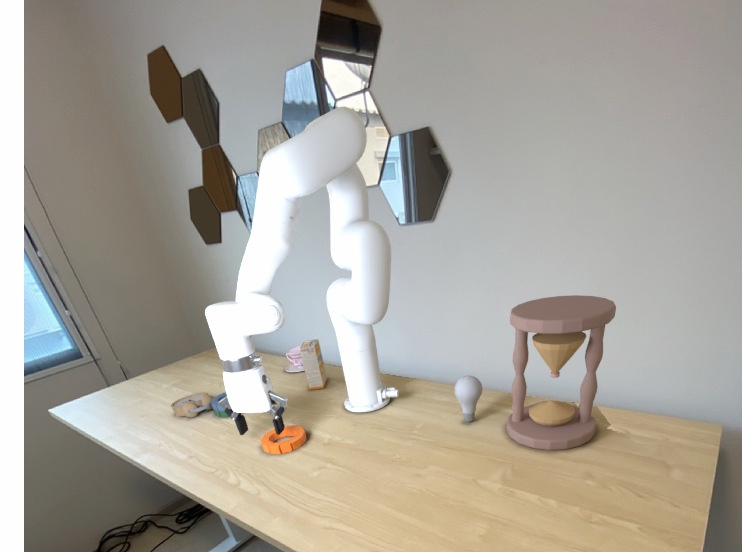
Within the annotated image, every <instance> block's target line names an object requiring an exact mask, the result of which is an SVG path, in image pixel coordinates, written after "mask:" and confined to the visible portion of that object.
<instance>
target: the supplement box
mask: <svg viewBox="0 0 742 552" xmlns="http://www.w3.org/2000/svg"><path fill="white" fill-rule="evenodd" d="M300 346H301V347H300V353H301V357H302V361H303V365H304V368H305V371H304V373H305V376H306V381H307V385H308V388H309V390H319V389H324V388H325V385H326V383H327V380H328V376H327V372H326V367H325V363H324V358H323V354H322V350H321V345H320V341H319V338H316V339H309V340H304V341H303V342H302V344H301V345H300Z"/></svg>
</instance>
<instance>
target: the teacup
mask: <svg viewBox="0 0 742 552" xmlns="http://www.w3.org/2000/svg"><path fill="white" fill-rule="evenodd" d="M301 346H302V345H300V346H294V347H292V348H289V349H287V350H286V351H285V356H286V358H287V359H288V360H289V361H290V362H291V363H289V364H287V365H286V366H285V367H284V371H286V372H287V373H300V372H305V368H304V365H303V361H302V357H301V353H300V347H301Z"/></svg>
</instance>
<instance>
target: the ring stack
mask: <svg viewBox="0 0 742 552" xmlns="http://www.w3.org/2000/svg"><path fill="white" fill-rule="evenodd" d="M226 396H227V393H226V391H225V392H222V393H219V394H218V395H216V396H214V397H213V399H212V400H211V405H212V407H213V409H212V410H213V412H214V414H215V416H216V417H218V418H230V416H229V415H228V414H226V413H225V411H224V410H223V408H222V407H221V406H220V405H219V402H220V401H221V400H222V399H224V398H225V397H226ZM228 404H229V406H230V403H229V402H228Z"/></svg>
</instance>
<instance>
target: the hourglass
mask: <svg viewBox="0 0 742 552" xmlns="http://www.w3.org/2000/svg"><path fill="white" fill-rule="evenodd" d="M616 311H617V305H616V304H615V302H614V301H613V300H612V299H609V298H605V297H601V296H594V295H578V294H577V295H576V294H575V295H557V296H548V297H542V298H537V299H536V298H535V299H531V300H527V301H525V302H522V303H519V304H517V305H516V306H514V307H512V308H511V309H510V313H509V324H510V326H512V327H513V328H514V329H515V334H514V335H515V336H514V347H513V351H512V364H513V369H514V372H515V375H514V379H513V381H512V385H511V399H512V400H511V401H512V412H511V414H510V415H509V416H507V420H506V433H507V434H508V435H509V437H510V438H511V439H512V440H514V441H515V442H516V443H518V444H519V445H522V446H525V447H528V448H532V449H534V450H535V449H536V450H537V449H538V450H544V451H559V450H560V451H561V450H562V451H563V450H569V449H573V448H578V447H580V446H582V445H584V444H586V443H588V442H589V441H591V439H592V438H593V436H594V435H595V433H596V430H597V423H596V419H595V417H594V416H593V415H592V412H593V407H594V406H593V405H594V401H595V400H596V399H595V398H596V396H597V393H598V378H597V373H596V372H597V370H598V368H599V366H600V364H601V362H602V360H603V355H604V336H605V331H606V325H608V324H610V323H611V322H612V320H613V319H614V318H615V316H616ZM585 331H589V339H588V342H587V345H586V349H585V354H584V362H585V368H586V373H585V375H584V377H583V380H582V382H581V384H580V389H579V394H580V395H579V396H580V403H579V406H577V405H576V406H575V405H572V404H569V403H567V402H564V401H559V400H543V401H539V402H536V403H534V404H529V405H525V401H526V396H527V387H528V385H527V382H526V377H525V372H526V368H527V365H528V362H529V345H528V340H529V339H528V337H529V333H532V334H533V335H532V337H531V338H532V339H531V340H532V343H533V347H535V349H536V351H537V352H538V354H539V355H540V357H541V358H542V360H543V361H544V363H545V364H546V366H547V367H548V368H549V370H550V371H551V372H550V377H551V378H553V379H554V378H555V379H556V378H560V376H561V375H560V374H561V373H560V371H561V370H562V368H564V367H565V365H566V364H567V363H568V362H569V361H570V360H571V358H572V357H573V356H574V355H575V354H576V352H577V351H578V350H579V349H580V347H581V346H582V345H583V344H584V343H585V340H586V338H587V333H585Z"/></svg>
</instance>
